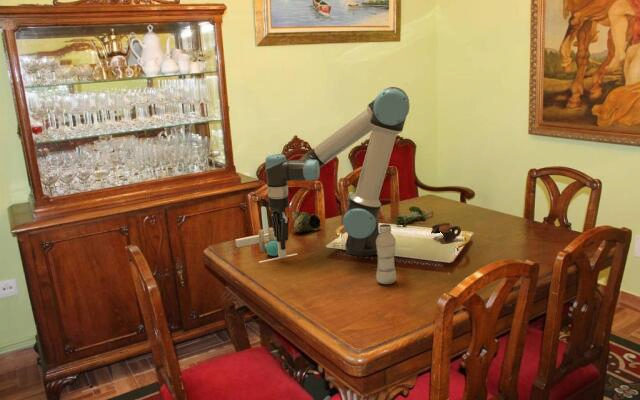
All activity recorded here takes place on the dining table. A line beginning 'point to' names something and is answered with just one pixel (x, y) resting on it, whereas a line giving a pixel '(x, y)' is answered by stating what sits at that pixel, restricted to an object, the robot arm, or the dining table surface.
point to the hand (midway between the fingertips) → (282, 256)
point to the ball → (272, 248)
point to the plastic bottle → (385, 255)
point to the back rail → (251, 240)
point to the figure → (412, 215)
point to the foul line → (277, 258)
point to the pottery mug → (446, 232)
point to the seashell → (305, 222)
